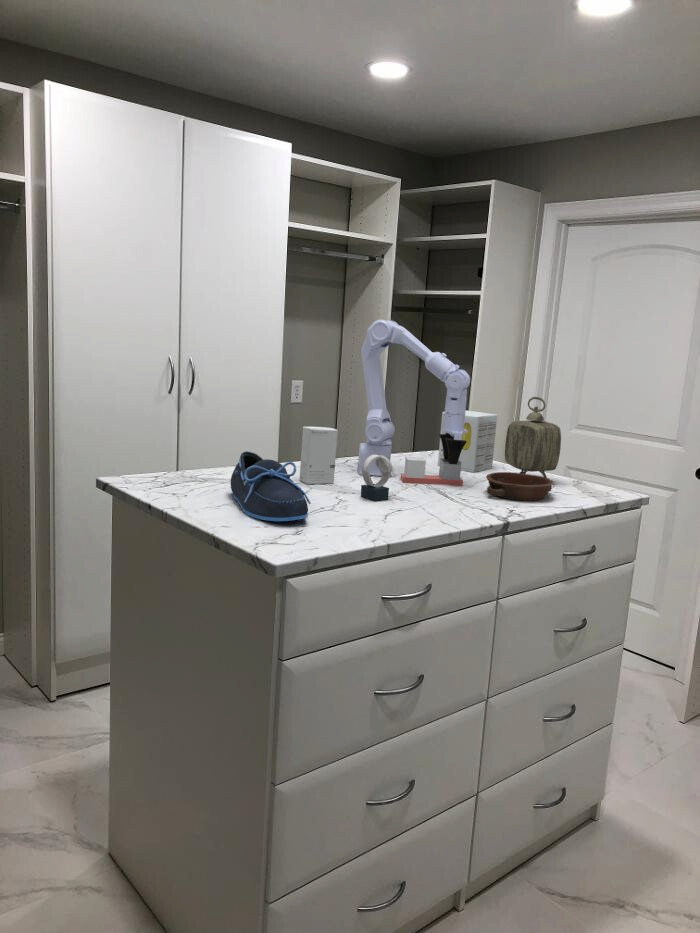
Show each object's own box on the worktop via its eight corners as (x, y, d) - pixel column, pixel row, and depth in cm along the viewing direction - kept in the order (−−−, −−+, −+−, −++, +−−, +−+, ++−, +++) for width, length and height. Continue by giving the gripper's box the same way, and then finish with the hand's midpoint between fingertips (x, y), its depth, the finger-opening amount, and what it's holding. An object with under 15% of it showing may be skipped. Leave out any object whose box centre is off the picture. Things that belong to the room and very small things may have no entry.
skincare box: (306, 484, 201) (309, 428, 199) (298, 479, 207) (301, 425, 204) (335, 483, 205) (338, 429, 202) (327, 479, 210) (330, 425, 207)
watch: (393, 499, 190) (397, 456, 188) (369, 502, 185) (372, 458, 183) (378, 494, 195) (381, 452, 193) (354, 497, 189) (357, 454, 187)
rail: (402, 482, 212) (404, 459, 211) (400, 479, 217) (402, 456, 216) (462, 485, 213) (464, 462, 212) (459, 481, 218) (461, 459, 217)
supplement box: (436, 466, 241) (440, 411, 238) (456, 462, 252) (461, 409, 248) (473, 473, 233) (478, 416, 230) (493, 468, 244) (498, 414, 241)
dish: (465, 492, 206) (466, 473, 205) (523, 486, 218) (524, 469, 217) (511, 506, 192) (513, 487, 191) (570, 500, 204) (572, 482, 203)
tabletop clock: (556, 485, 222) (566, 400, 218) (533, 487, 218) (543, 399, 213) (521, 475, 234) (530, 394, 230) (499, 476, 230) (507, 394, 225)
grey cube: (442, 479, 212) (443, 461, 211) (438, 475, 217) (440, 458, 216) (459, 480, 213) (461, 462, 212) (456, 476, 218) (457, 459, 217)
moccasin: (264, 531, 155) (266, 474, 153) (203, 494, 184) (205, 446, 182) (323, 525, 162) (326, 471, 160) (256, 490, 191) (258, 444, 189)
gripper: (474, 417, 205) (470, 467, 207) (463, 411, 219) (459, 457, 222) (449, 416, 204) (444, 465, 207) (439, 410, 219) (435, 456, 221)
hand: (450, 461), depth 214 cm, fingers open, 7 cm apart
